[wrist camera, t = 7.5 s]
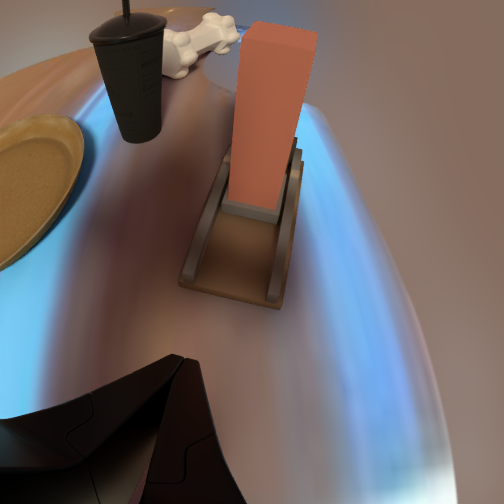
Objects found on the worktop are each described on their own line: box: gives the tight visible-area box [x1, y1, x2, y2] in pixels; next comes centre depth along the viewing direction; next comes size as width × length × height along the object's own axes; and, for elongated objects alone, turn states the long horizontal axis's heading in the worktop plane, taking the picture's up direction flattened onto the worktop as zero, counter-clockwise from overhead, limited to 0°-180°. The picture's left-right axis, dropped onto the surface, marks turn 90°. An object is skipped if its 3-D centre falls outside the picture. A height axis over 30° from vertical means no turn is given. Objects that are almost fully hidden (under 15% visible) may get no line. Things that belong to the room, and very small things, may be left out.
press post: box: [221, 21, 317, 224], centre depth 21 cm, size 5×5×15 cm
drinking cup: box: [89, 0, 167, 143], centre depth 24 cm, size 8×8×20 cm
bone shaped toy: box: [162, 13, 241, 79], centre depth 40 cm, size 15×9×8 cm, turn 150°
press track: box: [178, 137, 304, 310], centre depth 26 cm, size 16×8×4 cm, turn 168°
